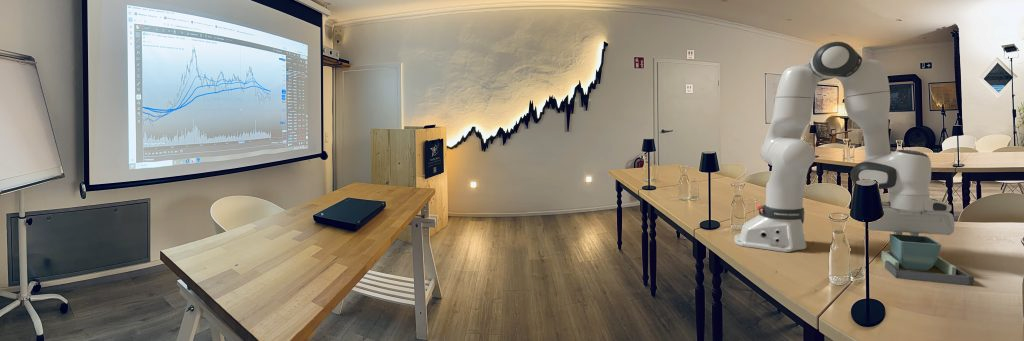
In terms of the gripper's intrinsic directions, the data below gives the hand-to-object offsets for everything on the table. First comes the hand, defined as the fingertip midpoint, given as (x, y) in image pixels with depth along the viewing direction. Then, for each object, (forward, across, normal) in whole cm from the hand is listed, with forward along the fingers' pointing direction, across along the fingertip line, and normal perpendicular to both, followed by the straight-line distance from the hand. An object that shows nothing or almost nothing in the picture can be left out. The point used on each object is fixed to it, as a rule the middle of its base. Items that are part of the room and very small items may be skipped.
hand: (904, 245), depth 123 cm
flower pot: (+5, -1, -7) cm, 9 cm away
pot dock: (+5, 0, -15) cm, 15 cm away
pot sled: (+4, 0, -7) cm, 8 cm away
